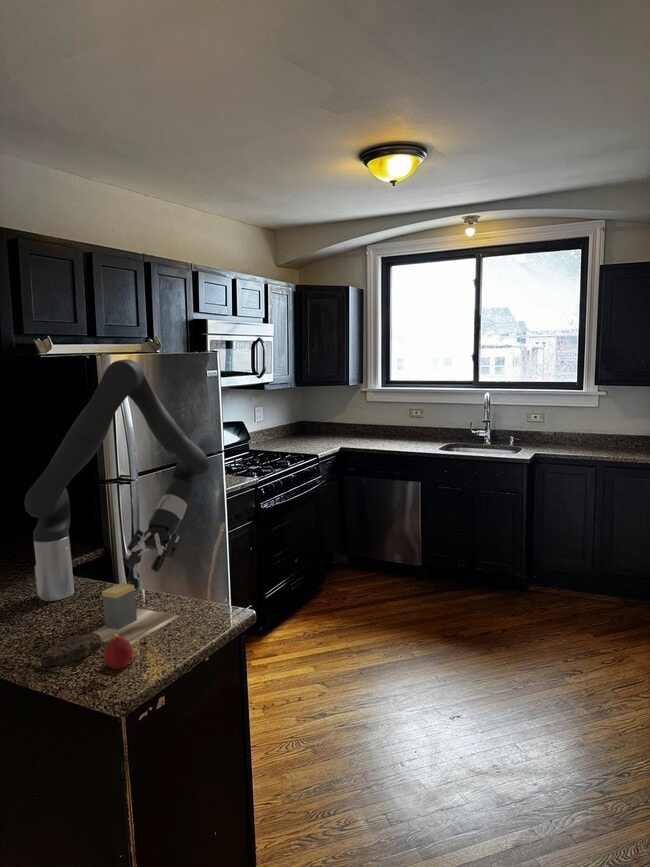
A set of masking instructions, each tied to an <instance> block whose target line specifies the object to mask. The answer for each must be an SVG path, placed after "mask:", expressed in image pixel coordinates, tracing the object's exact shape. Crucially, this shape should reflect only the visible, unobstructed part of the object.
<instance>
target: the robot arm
mask: <svg viewBox="0 0 650 867" xmlns="http://www.w3.org/2000/svg"><path fill="white" fill-rule="evenodd" d="M127 397H129V398H130V399H131V400H132V401H133V403H134V404H135V405H136V407H137V408H138V409H139V411H140V413H141V414H142V416H143V418H144V420H145V422H146V423H147V426H148V428H149V429H150V431H151V433H152V435H153V436H154V437H155V439H156V440H157V441H158V444H160V445H161V447H162V448H163V449H164V451H165V452H166V453H168V455H176V456H177V457H178V458H179V459H180V460H178V461H177V463H176V465H175V467H174V470H173V473H172V476H171V479H170V484H168V487H167V488H166V491H165V492H164V495H163V497H162V498H161V499H160V500H159V501H158V504H157V507H156V508H155V510H154V512H153V514H152V516H151V518H150V520H149V521H148V528H147V530H146V531H142V530H141V529H137V530H136V532H134V535H133V537H132V538H131V540H130V543H128V545H127V548H126V549H127V550H128V551H129V552H131V555H130V557H129V559H128V560H127V563H126V564H125V565H126V567H127V568H131V569H133V568H134V566H135V564H136V562H137V560H138V558H139V555H142V554H143V553H144V552H147V551H149V550H155V551H157V552H158V555H156V557H155V559H154V560H153V563H152V565H151V567H150V568H151V570H152V571H153V572H154V573H159V571H160V570H161V569H162V566H163V565H164V562H165V560H167V559H168V558H170V559H174V557H175V554H176V552H177V549H178V547H179V545H180V542H181V540H182V539H181V537H180V536H179V535H178V534H177V533H176V532H177V530H178V528H179V526H180V524H181V522H182V520H183V517H184V515H185V513H186V510H187V508H188V505H189V502H190V501H191V499H192V497H193V495H194V492H195V491H194V490H195V489H194V486H193V484H194V482H195V480H196V478H197V479H198V478H199V477H201V476H204V475H205V474H206V473H208V471H209V468H210V461H209V459H208V456H207V455H206V453H205V452H204V451H203V450H202V448H200V447H199V446H198V445H197V444H195V443H194V441H192V440H190V439H189V438H188V437H187V436H186V434H185V433H184V432H183V430H182V428H181V427H180V426H179V425H178V423H177V422H176V421H175V419H174V418H173V417H172V416H171V414H170V413H169V412H168V410H167V409H166V408H165V406H164V405H163V403H161V401H160V398H158V396H157V394H156V393H155V391H154V389H153V388H152V385H151V383H150V382H149V380H148V379H147V377H146V374H145V372H144V370H143V369H142V367H141V365H140V364H139V363H137V362H136V361H135V360H131V359H127V358H126V359H120V360H115V361H113V362H112V363H111V364H109V365H108V366H107V367H106V369H105V371H104V372H103V374H102V377H101V379H100V381H99V383H98V386H96V389H95V392H94V393H93V395H92V397H91V398H90V399H89V402H88V403H87V404H86V406H85V407H84V408H83V409H82V411H81V412H80V414H79V415H78V416H77V418H76V419H75V421H74V422H73V423H72V425H71V426H70V428H69V430H68V431H67V432H66V435H65V436H64V438H63V439H62V441H61V443H60V444H59V446H58V448H57V450H56V451H55V453H54V455H53V456H52V458H51V460H50V461H49V464H48V465H47V467H46V468H45V470H44V471H43V472H42V473H41V474H40V476H39V477H38V479H36V481H35V482H34V483H33V484H32V486H31V487H30V488H29V489H28V491H27V492H26V495H25V497H24V508H25V510H26V512H27V513H28V515H29V516H31V517H32V518H38V520H37V524H36V526H35V528H34V529H33V531H32V532H33V533H32V536H33V537H32V538H33V545H34V546H33V548H34V554H35V555H34V557H35V565H34V574H35V582H36V583H35V584H36V585H35V586H36V593H37V597H38V596H39V597H38V598H39V600H40V599H41V600H40V601H42V600H44V601H43V602H54V601H60V600H63V599H66V598H69V597H71V596H73V595H74V594H75V587H74V585H75V584H74V574H73V564H72V553H71V543H70V542H71V541H70V534H69V533H70V532H69V529H70V526H71V507H70V505H71V504H70V497H69V492H68V490H67V487H68V485H69V483H70V482H71V481H72V479H73V478H74V477H75V476H76V475H77V474H78V473H79V472H80V471H81V470H82V469H84V467H85V466H86V465H87V464H88V463H89V462H90V461H91V460H92V459H93V457H94V456H95V454H96V453H97V452H98V451H99V448H100V447H101V446H102V444H103V442H104V441H105V439H106V437H107V434H108V432H109V429H110V426H111V425H112V422H113V419H114V416H115V414H116V413H117V411H118V409H119V408H120V407H121V405H122V404H123V402H124V401H125V400H126V399H127Z"/></svg>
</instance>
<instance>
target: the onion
mask: <svg viewBox="0 0 650 867" xmlns="http://www.w3.org/2000/svg"><path fill="white" fill-rule="evenodd" d="M102 654H103V655H102V656H103V662H104V663H105V665H107V666H108V667H109V668H111V669H113V670H119V669H124V668H125V667H127V666H128V665H129V664H130V663H131V661H132V658H133V646H132V644H130V643H129V642H128V641H127V640H126V639H124V638H121V637H120V636H118V635H116V634H115V635H113V639H112V640H111V641H110V642H109V643H107V644H106V645H105V647H104V648H103V653H102Z"/></svg>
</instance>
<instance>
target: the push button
mask: <svg viewBox="0 0 650 867" xmlns="http://www.w3.org/2000/svg"><path fill="white" fill-rule="evenodd" d="M130 555H131V551H129V552H127V553H125V556H123V557H122V561H123V564H124V565H126V563H127V560H128V559H129V557H130ZM141 561H142V554H140V555H139V558H138V560H137V562H136V564H135V566H134V568H133V569H131V568H129V567H128V568H129V571H128V574H127V577H126V581H127V582H126V583H127V584H131V585H134V589H135V588H136V589H139V588H141V578H140V573H139V571H138V568H137V565H138V564H139V563H141Z"/></svg>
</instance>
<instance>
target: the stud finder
mask: <svg viewBox="0 0 650 867" xmlns="http://www.w3.org/2000/svg"><path fill="white" fill-rule="evenodd" d="M135 590H136V589H135V588H134V585H131V584H129V583H123V582H120V583H118V584H115V585H113V586H111V587H108V588H107V589H105V590H102V591H101V596H102V602H103V603H102V604H103V615H104V616H103V617H104V626H105V627H107V628H112V629H116V630H119V629H121V628H123V627H125V626H127V625H129V624H131V623H133V622H134V621H136V620H137V616H136V610H137V607H136V606H137V605H136V594H135Z"/></svg>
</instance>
